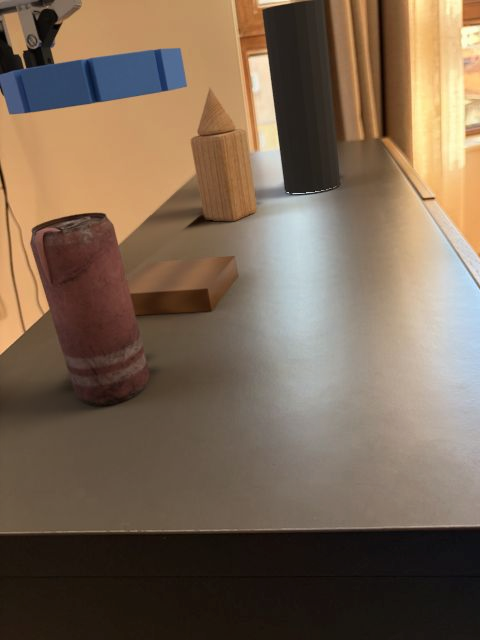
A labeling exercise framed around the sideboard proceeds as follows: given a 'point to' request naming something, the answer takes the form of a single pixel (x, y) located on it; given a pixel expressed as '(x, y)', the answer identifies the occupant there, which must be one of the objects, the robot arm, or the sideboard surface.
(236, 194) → the decorative item
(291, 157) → the vase
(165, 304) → the platform
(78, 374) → the can
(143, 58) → the ring
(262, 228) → the sideboard surface
